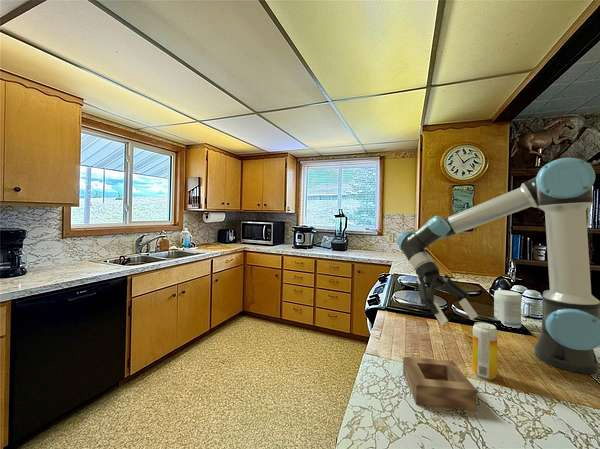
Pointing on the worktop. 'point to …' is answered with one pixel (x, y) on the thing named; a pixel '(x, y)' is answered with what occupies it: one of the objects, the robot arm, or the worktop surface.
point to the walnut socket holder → (439, 383)
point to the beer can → (484, 350)
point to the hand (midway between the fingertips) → (460, 320)
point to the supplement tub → (508, 308)
